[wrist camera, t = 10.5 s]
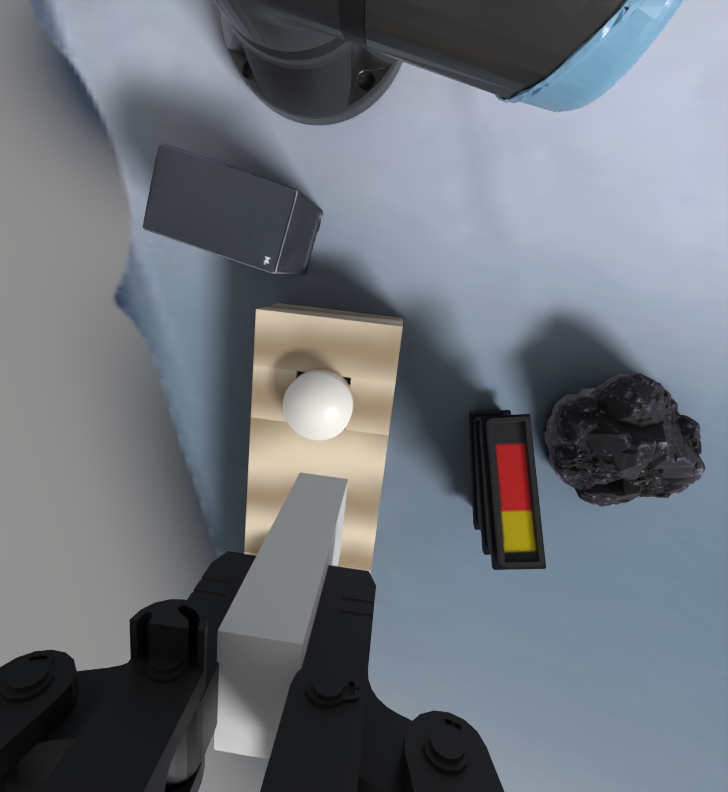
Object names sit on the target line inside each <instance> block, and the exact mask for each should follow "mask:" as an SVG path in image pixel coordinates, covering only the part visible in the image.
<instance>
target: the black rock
mask: <svg viewBox="0 0 728 792" xmlns="http://www.w3.org/2000/svg"><path fill="white" fill-rule="evenodd" d="M677 409H678V406H677V403H676V402H675V401H674V400H673V399H672V398H671V395H670V393H669V392H668V391H667V390H664V388H663V386H662V385H661V384H660V383H657V382H655V380H653V379H650V378H648V377H646V376H644V375H642V374H636V375H633V376H630V375H627V374H619V375H617V376H615V377H611V378H609V379H607V380H606V382H605V383H603V384H602V385H600V386H598V387H596V388H588V389H582V390H581V391H580V392H579V393H573V394H568V395H566V396H564V397H563V398H562V399H561V400H559V401H558V402H557V403H556V404H555V406H554V408H553V410H552V415H551V416H550V418H549V419H548V422H547V425H546V427H547V430H546V431H545V442H546V444H547V446H548V448H549V462H550V464H551V466H552V467H553V468H554V469H555V470H556V472H557V474H558V476H559V477H560V478H561V479H563V481H564V482H565V483H567V484H569V485H570V486H572V487H574V488H575V490H576V492H577V494H578V496H579V497H580V499H583V500H584V501H587V502H589V503H591V504H597V505H599V506H608V505H611V504H616V505H617V504H619V503H625V502H628V501H631V500H633V499H634V498H636V497H638V496H640V497H643V496H645V497H659V498H667V497H669V496H670V495H671V494H673V493H680V492H683V490H685V489H687V487H688V486H689V485H690V484H691V483H694V482H695V481H696V480H699V479H700V477H701V475H702V474H703V472H704V470H705V465H704V463H703V461H702V459H701V458H700V456H699V455H700V454H701V442H700V439H701V437H700V434H699V432H700V426H699V424H698V423H697V422H696V421H695V420H693V419H691V418H690V417H688V416H685V415H680V414H679V413H678V412H677Z"/></svg>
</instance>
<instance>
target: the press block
mask: <svg viewBox="0 0 728 792" xmlns="http://www.w3.org/2000/svg"><path fill="white" fill-rule="evenodd" d="M402 329H403V318H400V317H391V316H383V315H375V314H366V313H358V312H350V311H341V310H333V309H324V308H316V307H308V306H299V305H291V304H283V303H276V304H273V305H269V306H265V307H262V308H258V309H256V320H255V341H254V362H253V383H252V404H251V424H250V445H249V466H248V487H247V507H246V528H245V549H244V554H249V555H256V556H257V554H258V552H259V550H260V548H261V546H262V544H263V542H264V540H265V538H266V536H267V535H268V533H269V531H270V529H271V527H272V525H273V523H274V521H275V519H276V517H277V515H278V513H279V511H280V509H281V508H282V506H283V504H284V502H285V500H286V498H287V496H288V494H289V492H290V490H291V488H292V486H293V484H294V482H295V480H296V479H297V477H298V475H299V473H308V474H315V475H322V476H329V477H337V478H344V479H348V485H347V494H346V504H345V513H344V522H343V531H342V540H341V550H340V558H339V562H338V566H340V567H346V568H353V569H360V570H367V571H369V572H370V573H371V565H372V558H373V550H374V543H375V535H376V527H377V520H378V512H379V504H380V497H381V489H382V482H383V474H384V466H385V459H386V451H387V443H388V436H389V428H390V421H391V413H392V405H393V398H394V390H395V383H396V375H397V367H398V360H399V352H400V344H401V337H402ZM319 368H321V369H328V370H331V371H334V372H336V373H338V374H339V375H341V376H342V377H349V378H351V383H350V387H351V389H352V392H353V395H354V409H353V412H352V415H351V418H350V420H349V422H348V424H347V426H346V427H345V429H344V430H343V431H342V432H341V433H340V434H338V435H337V436H335V437H333V438H330V439H327V440H311V439H307V438H305V437H303V436H301V435H299V434H298V433H296V432H295V431H294V430H293V429H292V428H291V427H290V425H289V424H288V422H287V421H286V418H285V416H284V412H283V399H284V395H285V393H286V390H287V389H288V387H289V386H290V385H291V384H292V383H293V382H294V381H295V379H296V378H298V377H299V376H300V374H301V373H302V372H306V371H309V370H312V369H319Z"/></svg>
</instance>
